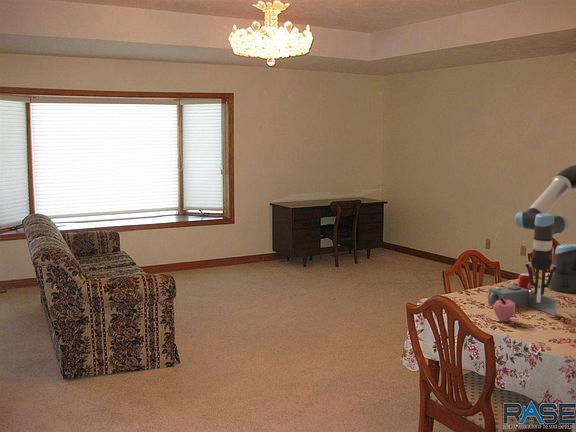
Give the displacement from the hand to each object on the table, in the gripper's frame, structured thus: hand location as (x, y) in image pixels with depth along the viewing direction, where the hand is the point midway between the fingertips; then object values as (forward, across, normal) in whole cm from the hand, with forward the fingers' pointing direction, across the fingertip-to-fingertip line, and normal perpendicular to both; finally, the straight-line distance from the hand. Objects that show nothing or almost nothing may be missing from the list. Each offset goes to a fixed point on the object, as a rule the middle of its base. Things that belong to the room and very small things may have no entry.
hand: (538, 301), depth 273 cm
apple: (+5, -12, -19) cm, 23 cm away
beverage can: (+6, -8, +22) cm, 24 cm away
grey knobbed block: (+5, -14, +7) cm, 17 cm away
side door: (+5, +1, +5) cm, 8 cm away
